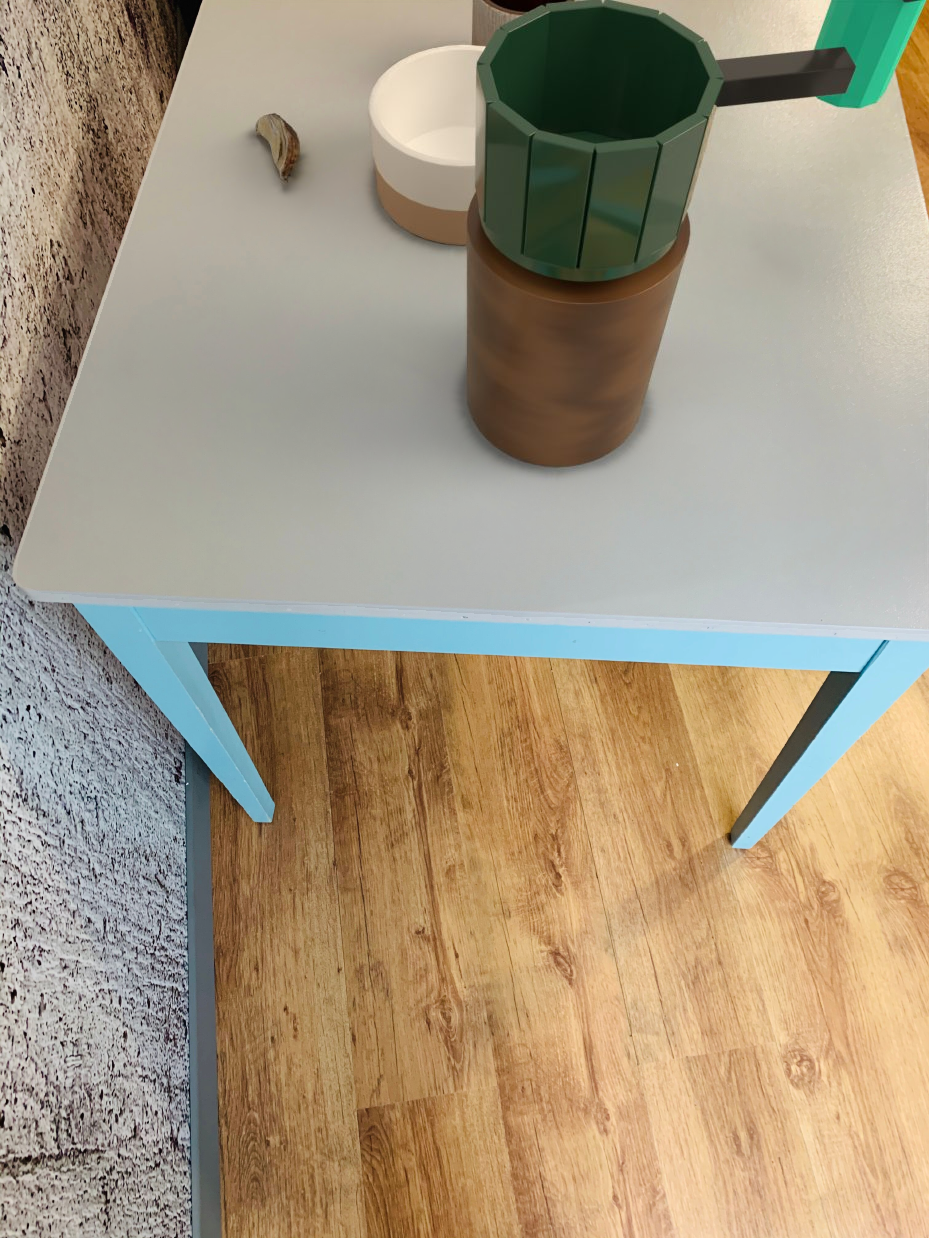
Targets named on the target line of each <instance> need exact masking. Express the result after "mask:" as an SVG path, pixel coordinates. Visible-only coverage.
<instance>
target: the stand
mask: <svg viewBox="0 0 929 1238" xmlns="http://www.w3.org/2000/svg"><path fill="white" fill-rule="evenodd" d="M477 206H478V198H477V193H476V192H475V194H474V196H473V198H472V200H471V202H470V206H469V209H468V215H467V245H466V403H467V407H468V412H469V414H470V416H471V419H472V421H473V423H474V425H475V427H476V428H477V429H478V431H479V432H480V434H482V435H483V437H484V438H485V439H486V440H487V441H488V443H489V442H490V444H491V445H492V446H494V447H496V448H497V449H498V450H500V451H501V452H503V453H505V454H506V455H509V456H510V457H512V458H515V459H517V460H519V461H521V462H525V463H529V464H532V465H538V466H542V467H543V466H544V467H556V468H558V467H559V468H560V467H573V466H579V465H583V464H587V463H590V462H593V461H596V460H599V459H600V458H603V457H605V456H607V455H608V454H610V453H612V452H614V451H615V450H616V449H617V448H618V447H620V446H621V445H622V444H623V443H625V441H626V440H627V439H628V438H629V437H630V435H631V434H632V433H633V431H634V430H635V428H636V426H637V424H638V423H639V419H640V416H641V413H642V409H643V406H644V402H645V398H646V397H647V396H646V395H647V392H648V388H649V384H650V381H651V378H652V375H653V370H654V367H655V364H656V360H657V356H658V354H659V349H660V346H661V342H662V339H663V336H664V333H665V332H664V331H665V329H666V325H667V321H668V318H669V315H670V311H671V307H672V304H673V300H674V298H675V294H676V290H677V287H678V283H679V280H680V277H681V273H682V270H683V265H684V263H685V259H686V255H687V251H688V248H689V245H690V240H691V239H690V238H691V223H690V221H691V220H690V217H689V213H688V212H687V213H686V216H685V218H684V222H683V226H682V229H681V232H680V234H679V236H678V238H677V240H676V242H675V243H674V245H673V246H672V247H671V249H670V250H669V251H668V252H667V253H666V254H665V255H664V256H663V257H662V258H660V259H659V260H658V261H656V262H655V263H654V264H652V265H650V266H648V267H647V268H645V269H643V270H641V271H638V272H636V273H633V274H631V275H628V276H624V277H621V278H617V279H611V280H605V281H593V282H580V281H568V280H561V279H556V278H552V277H547V276H544V275H541V274H538V273H535V272H533V271H531V270H528V269H526V268H524V267H522V266H520V265H518V264H517V263H515V262H513V261H512V260H510V259H509V258H508V257H506V256H505V255H504V254H502V253H501V252H500V251H499V250H498V249H497V248H496V247H495V246H494V245H493V243H492V242H491V241H490V240H489V238H488V237H487V235H486V233H485V232H484V230H483V228H482V225H481V222H480V219H479V215H478V208H477Z"/></svg>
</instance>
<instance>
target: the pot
mask: <svg viewBox="0 0 929 1238" xmlns="http://www.w3.org/2000/svg"><path fill="white" fill-rule="evenodd" d="M714 55H715V54H714V53H713V51H712V49H711V47H710V44H709V43H708V41H707V40H705V38H704V37H702V36H701V35H700V34H698V33H697V32H695V31H693V29H690V28H689V27H687V26H686V25H684V24H683V23H682V22H680V21H678V20H676V19H675V18H674V17H672V16H670V15H669V14H667V13H666V12H663V11H662V12H660V10H659V9H655V8H649V7H645V6H640V5H635V4H631V3H627V2H622V1H617V0H604V1H603V0H581V1H571V2H561V3H551V4H546V7H544V6H543V5H541V6H539V7H537V8H535V9H533V10H531V11H529V12H528V13H526V14H524V15H522V16H520V17H518V18H516V19H514V20H512V21H510V22H508V23H506V24H504V25H502V26H500V28H499V29H496V31H495V32H494V34H493V36H492V37H491V39H490V41H489V42H488V44H487V46H486V47H485V49H484V51H483V52H482V54H481V56H480V57H479V59H478V61H477V66H476V136H475V189H476V193H477V198H478V206H477V208H478V215H479V219H480V222H481V225H482V228H483V230H484V232H485V233H486V235H487V237H488V238H489V240H490V241H491V242H492V243H493V245H494V246H495V247H496V248H497V249H498V250H499V251H500V252H501V253H502V254H504V255H505V256H506V257H508V258H509V259H510V260H512V261H513V262H515V263H517V264H518V265H520V266H522V267H524V268H526V269H528V270H531V271H533V272H535V273H538V274H541V275H544V276H547V277H552V278H556V279H561V280H568V281H580V282H593V281H605V280H611V279H617V278H621V277H624V276H628V275H631V274H633V273H636V272H638V271H641V270H643V269H645V268H647V267H648V266H650V265H652V264H654V263H655V262H656V261H658V260H659V259H660V258H662V257H663V256H664V255H665V254H666V253H667V252H668V251H669V250H670V249H671V247H672V246H673V245H674V243H675V242H676V240H677V238H678V236H679V234H680V232H681V229H682V226H683V222H684V218H685V216H686V213H688V210H689V208H690V205H691V203H692V199H693V195H694V192H695V188H696V184H697V180H698V177H699V173H700V169H701V166H702V162H703V159H704V155H705V152H706V149H707V144H708V141H709V136H710V134H711V130H712V126H713V122H714V119H715V115H716V112H717V108H722V107H735V106H743V105H752V104H761V103H762V104H763V103H771V102H780V101H789V100H790V101H791V100H798V99H808V98H817V97H818V96H827V95H836V94H845V93H846V92H847V89H848V87H849V84H850V82H851V79H852V77H853V75H854V72H855V70H856V65H855V63H854V62H853V60H852V58H851V56H850V55H849V53H848V51H847V50H846V48H845V47H836V48H827V49H817V50H814V49H808V50H799V51H789V52H779V53H770V54H761V55H751V56H742V57H732V58H723V59H716V58H715V56H714Z"/></svg>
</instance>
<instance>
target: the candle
mask: <svg viewBox="0 0 929 1238" xmlns="http://www.w3.org/2000/svg"><path fill="white" fill-rule="evenodd" d="M926 2H927V0H919V1H913V2H907V3H905V2H904V1H903V0H830V3H829V5H828V9H827V11H826V14H825V17H824V20H823V22H822V25H821V28H820V31H819V33H818V37H817V40H816V41H815V45H814V48H813V50H817V49H827V48H836V47H845V48H846V50H847V51H848V53H849V55H850V56H851V58H852V60H853V62H854V63H855V65H856V70H855V72H854V75H853V77H852V79H851V82H850V84H849V87H848V89H847V92H846V93H845V94H836V95H827V96H818V97H816V99H817V100H819V101H821V102H824V103H826V104H829V105H830V106H833V107H836V108H843V109H863V108H865V107H868V106H871V105H875V104H877V103H878V102H879V101H880V99H881V98H882V97H883V96H884V94H885V93H886V91H887V89H888V87H889V85H890V82H891V80H892V78H893V75H894V74H895V72H896V68H897V67H898V64H899V63H900V60H901V58H902V56H903V53H904V51H905V49H906V47H907V45H908V42H909V40H910V38H911V36H912V34H913V32H914V29H915V26H916V24H917V23H918V20H919V18H920V15H921V13H922V11H923V8H924V7H925V5H926Z"/></svg>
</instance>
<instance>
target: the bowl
mask: <svg viewBox="0 0 929 1238" xmlns="http://www.w3.org/2000/svg"><path fill="white" fill-rule="evenodd" d="M484 49H485V46H474V45H472V44H459V45H458V44H456V45H455V44H453V45H452V44H451V45H444V46H438V47H433V48H432V47H431V48H428V49H425V50H422V51H419V52H415V53H413V54H411V55H409V56H406V57H404V58H402V59H401V60H399V61H397V62H396V63H394V64H393V65H392V66H390V67H389V68H388V69H386V71H384V73H383V74H382V75H381V76H380V77H379V78H378V79H377V81H376V82H375V85H374V86H373V88H372V89H371V92H370V93H371V94H370V97H369V101H368V118H369V127H370V137H371V145H372V155H373V162H374V171H375V180H376V189H377V195H378V197H379V201H380V204H381V205H382V208H383V209H384V210H385V211H386V214H388V216H389V217H390V218H391V220H393V221H394V222H395V223H396V224H397V225H398V226H400V227H401V228H403V229H405V230H406V231H408V232H409V233H411V234H413V235H416V236H418V237H420V238H422V239H425V240H427V241H431V242H436V243H440V244H445V245H446V244H447V245H456V246H457V245H458V246H465V245H466V246H467V215H468V209H469V206H470V202H471V200H472V198H473V196H474V194H475V192H476V189H475V136H476V66H477V61H478V59H479V57H480V56H481V54H482V52H483V51H484Z"/></svg>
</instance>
